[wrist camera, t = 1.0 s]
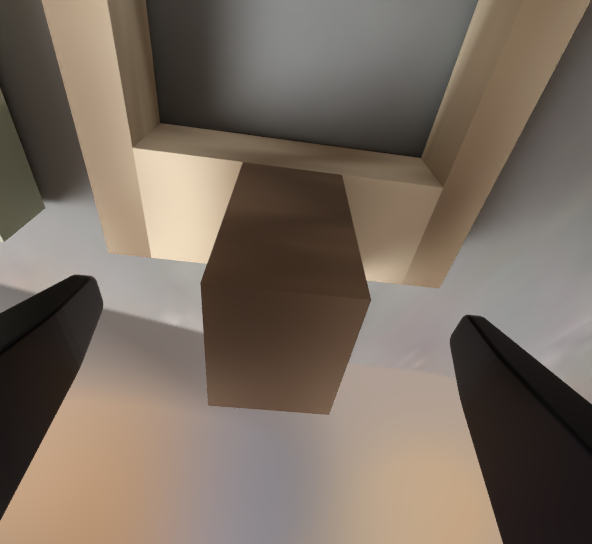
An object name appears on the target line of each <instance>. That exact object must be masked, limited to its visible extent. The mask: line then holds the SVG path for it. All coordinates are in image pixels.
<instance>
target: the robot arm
mask: <svg viewBox="0 0 592 544" xmlns="http://www.w3.org/2000/svg"><path fill="white" fill-rule="evenodd" d="M102 310H103V300H102V297H101V293H100V290H99V287H98V284H97V281H96V279H95V278H94V277H92V276H87V275H73V276H70V277H68V278H66V279H65V280H63V281H61V282H59V283H57V284H55V285H53V286H51V287H49V288H47V289H45V290H44V291H42V292H40V293H38V294H36V295H34V296H32V297H30V298H29V299H27V300H25V301H23V302H21V303H19V304H17V305H15V306H13V307H11V308H9V309H7V310H6V311H4V312H2V313H0V520H1V518H2V516H3V515H4V513H5V511H6V509H7V507H8V505H9V503H10V501H11V499H12V497H13V495H14V494H15V491H16V490H17V488H18V486H19V484H20V482H21V480H22V478H23V476H24V474H25V473H26V471H27V469H28V467H29V465H30V463H31V461H32V459H33V457H34V455H35V453H36V452H37V450H38V448H39V446H40V444H41V442H42V440H43V438H44V436H45V434H46V432H47V431H48V428H49V427H50V425H51V423H52V421H53V419H54V417H55V415H56V413H57V411H58V409H59V408H60V406H61V404H62V402H63V400H64V398H65V396H66V394H67V392H68V390H69V388H70V387H71V385H72V383H73V381H74V379H75V377H76V375H77V373H78V371H79V369H80V367H81V364H82V362H83V360H84V357H85V354H86V352H87V349H88V346H89V344H90V341H91V339H92V336H93V334H94V331H95V328H96V326H97V323H98V320H99V318H100V315H101V313H102ZM450 348H451V353H452V359H453V364H454V369H455V375H456V380H457V385H458V391H459V395H460V400H461V404H462V408H463V411H464V414H465V418H466V421H467V424H468V428H469V431H470V434H471V438H472V441H473V444H474V448H475V451H476V455H477V458H478V461H479V465H480V468H481V471H482V475H483V478H484V481H485V485H486V488H487V491H488V494H489V498H490V501H491V505H492V508H493V511H494V514H495V518H496V521H497V525H498V528H499V531H500V535H501V538H502V541H503V544H592V404H591V403H589V402H588V401H587V400H586V399H584V398H583V397H582V396H581V395H579V394H578V393H577V392H576V391H574V390H573V389H572V388H571V387H570V386H568V385H567V384H566V383H565V382H563V381H562V380H561V379H560V378H558V377H557V376H556V375H555V374H553V373H552V372H551V371H550V370H548V369H547V368H546V367H545V366H543V365H542V364H541V363H540V362H539V361H537V360H536V359H535V358H534V357H532V356H531V355H530V354H529V353H527V352H526V351H525V350H524V349H522V348H521V347H520V346H519V345H517V344H516V343H515V342H514V341H512V340H511V339H510V338H509V337H508V336H506V335H505V334H504V333H503V332H501V331H500V330H499V329H498V328H496V327H495V326H494V325H493V324H491V323H490V322H489V321H488V320H486V319H485V318H484V317H482V316H475V315H465V316H464V317H463V318H462V319H461V320H460V322H459V324H458V325H457V327H456V328H455V330H454V332H453V333H452V335H451V338H450Z"/></svg>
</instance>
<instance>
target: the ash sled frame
mask: <svg viewBox="0 0 592 544" xmlns="http://www.w3.org/2000/svg"><path fill="white" fill-rule="evenodd" d="M41 1H42V4H43V8H44V12H45V16H46V19H47V23H48V27H49V31H50V34H51V38H52V42H53V46H54V49H55V53H56V57H57V61H58V64H59V68H60V72H61V76H62V79H63V83H64V87H65V91H66V94H67V98H68V102H69V106H70V109H71V113H72V117H73V121H74V124H75V128H76V132H77V136H78V139H79V143H80V147H81V151H82V154H83V158H84V162H85V166H86V169H87V173H88V177H89V181H90V184H91V188H92V192H93V196H94V199H95V203H96V207H97V211H98V214H99V218H100V222H101V225H102V229H103V233H104V237H105V240H106V244H107V248H108V252H109V253H113V254H122V255H132V256H141V257H150V258H160V259H169V260H179V261H188V262H197V263H207V266H206V269H205V272H204V274H203V277H202V280H201V297H202V313H203V329H204V342H205V343H204V344H205V361H206V376H207V393H208V405H210V406H223V407H236V408H249V409H262V410H275V411H289V412H300V413H313V414H326V415H329V413H330V410H331V407H332V405H333V402H334V399H335V397H336V394H337V391H338V389H339V386H340V383H341V380H342V378H343V375H344V372H345V369H346V366H347V364H348V361H349V359H350V356H351V353H352V350H353V348H354V345H355V342H356V340H357V337H358V334H359V331H360V329H361V326H362V323H363V321H364V318H365V315H366V312H367V310H368V307H369V304H370V301H371V298H370V294H369V289H368V285H367V281H376V282H385V283H394V284H404V285H413V286H423V287H432V288H440V286H441V285H442V283H443V281H444V279H445V277H446V275H447V273H448V271H449V269H450V267H451V266H452V264H453V262H454V260H455V258H456V256H457V254H458V252H459V250H460V248H461V247H462V245H463V243H464V241H465V239H466V237H467V235H468V233H469V231H470V229H471V228H472V226H473V224H474V222H475V220H476V218H477V216H478V214H479V212H480V210H481V208H482V207H483V205H484V203H485V201H486V199H487V197H488V195H489V193H490V191H491V189H492V188H493V186H494V184H495V182H496V180H497V178H498V176H499V174H500V172H501V170H502V169H503V167H504V165H505V163H506V161H507V159H508V157H509V155H510V153H511V151H512V150H513V148H514V146H515V144H516V142H517V140H518V138H519V136H520V134H521V132H522V130H523V129H524V127H525V125H526V123H527V121H528V119H529V117H530V115H531V113H532V111H533V110H534V108H535V106H536V104H537V102H538V100H539V98H540V96H541V94H542V92H543V91H544V89H545V87H546V85H547V83H548V81H549V79H550V77H551V75H552V73H553V72H554V70H555V68H556V66H557V64H558V62H559V60H560V58H561V56H562V54H563V53H564V51H565V49H566V47H567V45H568V43H569V41H570V39H571V37H572V35H573V33H574V32H575V30H576V28H577V26H578V24H579V22H580V20H581V18H582V16H583V14H584V13H585V11H586V9H587V7H588V5H589V3H590V1H591V0H478V3H477V6H476V9H475V11H474V14H473V17H472V20H471V22H470V25H469V28H468V31H467V33H466V36H465V39H464V42H463V44H462V47H461V50H460V53H459V55H458V58H457V61H456V64H455V66H454V69H453V72H452V75H451V77H450V80H449V83H448V86H447V88H446V91H445V94H444V97H443V99H442V102H441V105H440V108H439V110H438V113H437V116H436V119H435V121H434V124H433V127H432V130H431V132H430V135H429V138H428V141H427V143H426V146H425V149H424V152H423V154H422V157H421V158H416V157H409V156H401V155H394V154H387V153H379V152H372V151H364V150H357V149H349V148H342V147H334V146H327V145H320V144H312V143H305V142H297V141H290V140H282V139H275V138H267V137H260V136H253V135H245V134H238V133H230V132H223V131H215V130H208V129H200V128H193V127H186V126H178V125H171V124H163V123H160V118H159V109H158V101H157V92H156V84H155V75H154V66H153V58H152V49H151V41H150V32H149V23H148V15H147V6H146V0H41Z"/></svg>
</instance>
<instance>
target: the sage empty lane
mask: <svg viewBox="0 0 592 544" xmlns="http://www.w3.org/2000/svg"><path fill="white" fill-rule="evenodd" d="M43 209H45V206H44V204H43V201H42V198H41V196H40V193H39V190H38V188H37V185H36V182H35V179H34V177H33V174H32V171H31V169H30V166H29V163H28V161H27V158H26V155H25V153H24V150H23V147H22V145H21V142H20V139H19V137H18V134H17V131H16V129H15V126H14V123H13V121H12V118H11V115H10V113H9V110H8V107H7V104H6V102H5V99H4V96H3V94H2V91H1V88H0V242H5V241H6V240H7V239H8V238H10V237H11V236H12V235H13V234H14V233H16V232H17V231H18V230H19V229H20V228H22V227H23V226H24V225H25V224H26V223H28V222H29V221H30V220H31V219H33V218H34V217H35V216H36V215H37V214H39V213H40V212H41V211H42V210H43Z"/></svg>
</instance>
